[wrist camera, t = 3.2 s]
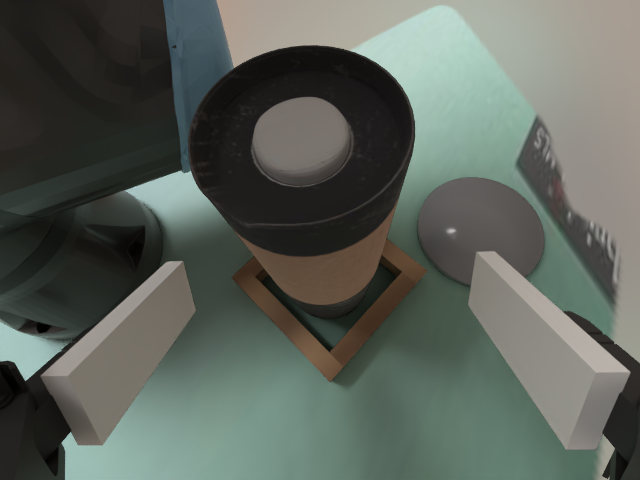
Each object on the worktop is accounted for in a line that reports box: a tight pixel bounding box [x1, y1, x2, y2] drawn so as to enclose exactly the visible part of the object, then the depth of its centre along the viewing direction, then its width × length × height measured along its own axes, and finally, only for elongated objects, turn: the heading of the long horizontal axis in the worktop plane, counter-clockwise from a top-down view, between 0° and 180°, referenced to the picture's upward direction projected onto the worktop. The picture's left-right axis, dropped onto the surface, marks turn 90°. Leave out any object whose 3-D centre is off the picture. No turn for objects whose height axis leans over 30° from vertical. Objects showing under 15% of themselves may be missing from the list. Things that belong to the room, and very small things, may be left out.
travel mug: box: [188, 45, 415, 319], centre depth 19 cm, size 8×8×20 cm
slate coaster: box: [417, 177, 544, 287], centre depth 29 cm, size 11×11×1 cm
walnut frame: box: [231, 238, 427, 382], centre depth 27 cm, size 12×12×2 cm
